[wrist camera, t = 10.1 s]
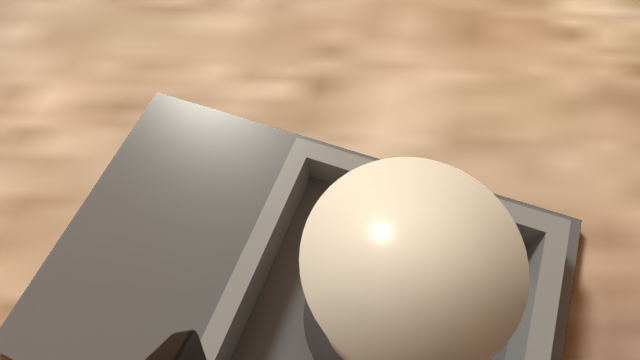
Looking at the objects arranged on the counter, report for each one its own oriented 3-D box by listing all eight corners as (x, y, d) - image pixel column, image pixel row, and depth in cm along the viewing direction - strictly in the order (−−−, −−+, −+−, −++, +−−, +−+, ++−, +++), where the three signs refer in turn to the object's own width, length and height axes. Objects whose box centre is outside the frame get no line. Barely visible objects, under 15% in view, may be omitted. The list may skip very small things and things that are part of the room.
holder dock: (574, 224, 18) (607, 203, 16) (518, 615, 13) (554, 668, 11) (161, 98, 23) (140, 67, 21) (-2, 347, 18) (-55, 343, 15)
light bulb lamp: (469, 275, 17) (601, 167, 8) (432, 430, 15) (557, 521, 6) (335, 228, 18) (320, 90, 9) (282, 364, 16) (195, 355, 7)
